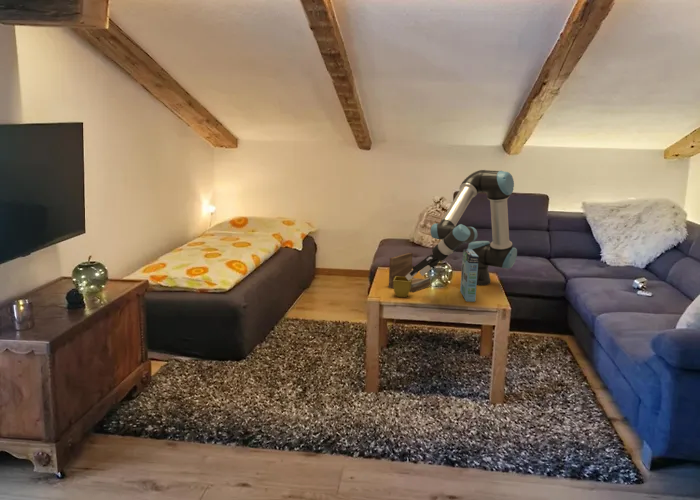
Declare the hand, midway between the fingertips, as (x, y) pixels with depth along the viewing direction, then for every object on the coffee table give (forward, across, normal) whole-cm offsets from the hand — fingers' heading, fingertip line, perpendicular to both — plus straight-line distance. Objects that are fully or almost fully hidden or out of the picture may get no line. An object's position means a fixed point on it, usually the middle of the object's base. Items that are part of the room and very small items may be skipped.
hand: (414, 276), depth 302 cm
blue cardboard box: (-5, +22, -22) cm, 31 cm away
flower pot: (+13, +1, -3) cm, 14 cm away
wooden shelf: (+17, +21, +1) cm, 27 cm away
